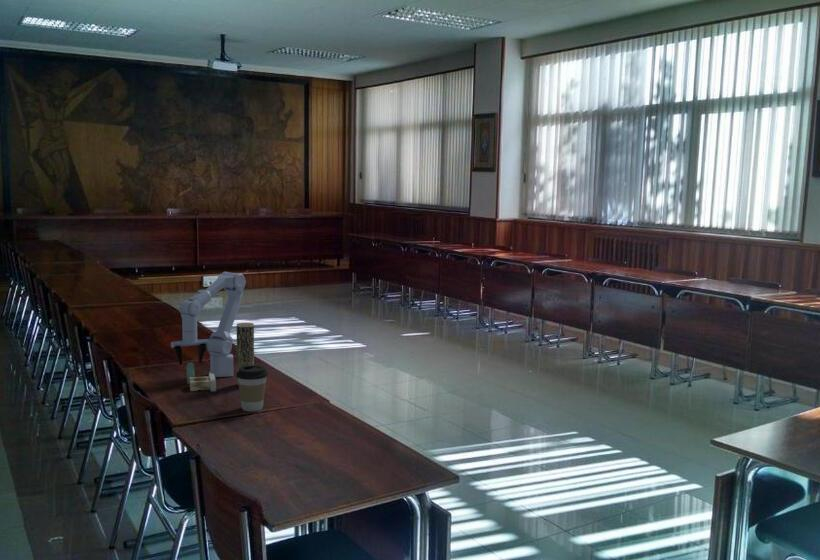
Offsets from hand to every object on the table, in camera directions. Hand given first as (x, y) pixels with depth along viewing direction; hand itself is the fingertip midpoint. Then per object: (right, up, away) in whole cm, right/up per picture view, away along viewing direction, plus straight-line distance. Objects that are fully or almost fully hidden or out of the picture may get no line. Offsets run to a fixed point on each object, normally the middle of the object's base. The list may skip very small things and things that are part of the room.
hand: (190, 363), depth 300 cm
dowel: (0, -8, +1) cm, 8 cm away
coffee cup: (+31, -13, -30) cm, 46 cm away
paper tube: (+22, -9, 0) cm, 24 cm away
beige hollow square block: (+5, -9, -5) cm, 12 cm away
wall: (+10, -9, -4) cm, 14 cm away
